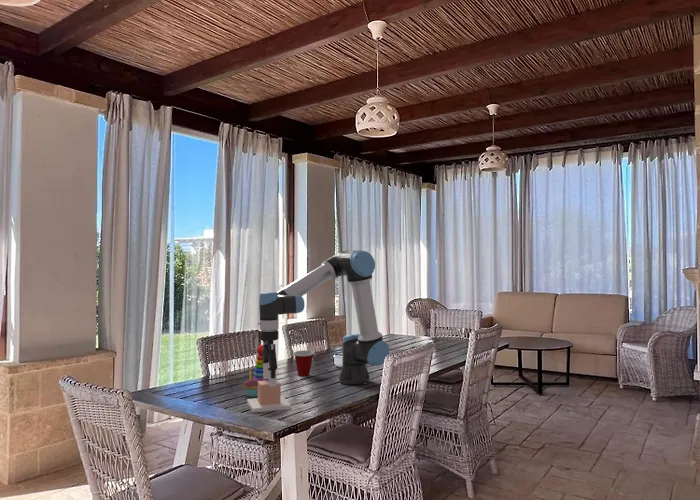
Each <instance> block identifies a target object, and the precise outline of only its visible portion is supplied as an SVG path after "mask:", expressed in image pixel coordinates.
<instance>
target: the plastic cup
mask: <svg viewBox="0 0 700 500" xmlns="http://www.w3.org/2000/svg"><path fill="white" fill-rule="evenodd" d="M314 354H315V352H314V350H307V349H305V350H298V351H294V352H293V356H294V359H295V364H296V365H295V366H296V369H297V371H296V372H297V375H298V376H299V377H309V376H310V374H311V368H312V364H313V363H312V362H313V357H314Z"/></svg>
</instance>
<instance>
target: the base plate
mask: <svg viewBox="0 0 700 500" xmlns="http://www.w3.org/2000/svg"><path fill="white" fill-rule="evenodd" d="M246 403H247V404H248V406H249V409H250V410H251V413H264V412H272V411H284V410H292V409H291V408H292V405H291V403H290V402H289V401H288V400H287V399H286V398H285V397H284V396H283V395H280V403H279V404H268V405H260V404H259V402H258V397H257V398H256V397H253V398H247V399H246Z"/></svg>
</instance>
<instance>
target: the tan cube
mask: <svg viewBox="0 0 700 500" xmlns="http://www.w3.org/2000/svg"><path fill="white" fill-rule="evenodd" d="M280 396H281V382H280V380H278V379H276V386H272V387H269V380H266V381H258V396H257V398H258V402H259V404H260V405H268V404H279V403H280Z"/></svg>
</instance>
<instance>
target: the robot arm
mask: <svg viewBox="0 0 700 500" xmlns="http://www.w3.org/2000/svg"><path fill="white" fill-rule="evenodd" d="M375 269H376V262H375V259H374V257H373V255H372V254H371V253H370V252H369V251H365V250H359V249H357V250H356V249H355V250H344V251H340V252H337V253H336V254H334V255H332V256H331V257H329V258H327V259H325V260H323V261H322V262H321V265H320V266H318V267H316V268H314V269H313V270H311V271H310V272H307V274H304V275H303V276H301V277H299V278H298V279H296V280H294V281H293V282H291V283H289V284H287V286H284V287H283V288H281V289H279V290H277V291H264V292H260V293H259V298H258V304H259V307H258V308H259V309H258V311H259V322H258V323H257V325H258V326H259V340H260V341H262V343H263V344H262V345H263V354H262V360H263V379H269V387H272V386H276V380H277V370H278V361H277V351H276V346H277V345H276V344H275V343H274V341H277V340H279V330H278V329H279V315H288V314H289V315H291V314H292V315H293V314H300V313H302V312H303V311H304V310H305V306H306V305H305V299H304V297H303V296H304V295H306V294H308V293H310V292H312V291H313V290H314V289H316V288H317V287H319V286H321V285H322V284H324V283H326V282H327V281H329V280H335V279H337V278H339V277H342V276H344V277H345V276H346V280H347V283H348V284H350V286H351V289H352V294H353V295H352V296H353V301H354V307H355V312H356V318H357V324H358V331H359V333H357V334H346V335H344V336H343V337H342V367H341V370H340V373H339V377H338V382H339V383H340V384H342V383H343V385H346V384H363V385H365V384H364V383H368V382H369V383H370V382H371V376H370V373H369V370H368V367H367V365H370V366H376V367H379V366H382V365H384V359H385V357H386V356H387V355H389V356H390V346H389V344H388V343H387V342H386V341H385V340H384V338H383V333H381V332H380V331H379V329H378V328H379V327H378V323H377V316H376V310H375V305H374V299H373V293H372V285H371V280H372V279H373V273H374V272H375ZM369 383H368V384H369Z"/></svg>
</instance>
